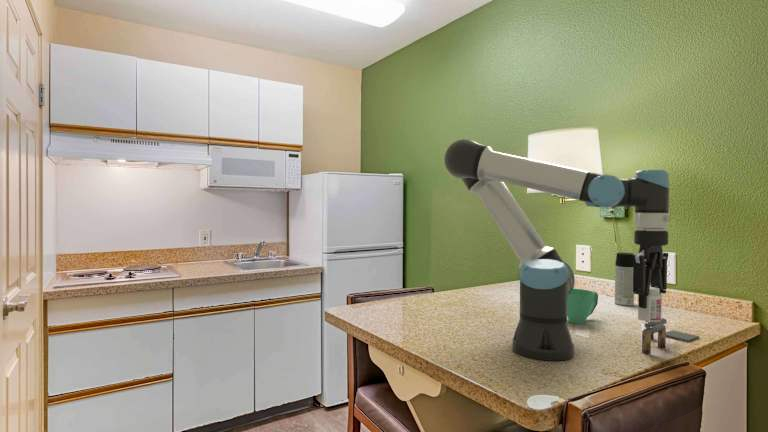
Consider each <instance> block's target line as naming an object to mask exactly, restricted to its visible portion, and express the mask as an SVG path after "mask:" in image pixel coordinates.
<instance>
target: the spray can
mask: <svg viewBox="0 0 768 432" xmlns="http://www.w3.org/2000/svg"><path fill="white" fill-rule="evenodd" d="M633 255H635V254H634V253H633V252H616V257H615V264H614V265H615V269H614V304H615V305H617V306H618V305H619V306H624V307H628V306H629V307H631V306H634V304H635V294H634V292H633V259H632V256H633Z"/></svg>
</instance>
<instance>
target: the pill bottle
mask: <svg viewBox="0 0 768 432" xmlns="http://www.w3.org/2000/svg"><path fill="white" fill-rule="evenodd" d="M659 293H660V289H659V288H656V287H651V286H650V289H649V295H648V296H651V320H650V322H659V321H661V319H662V309H661V297H660V296H659Z"/></svg>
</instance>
